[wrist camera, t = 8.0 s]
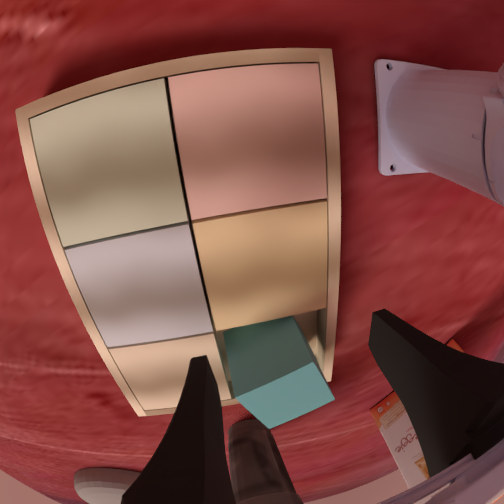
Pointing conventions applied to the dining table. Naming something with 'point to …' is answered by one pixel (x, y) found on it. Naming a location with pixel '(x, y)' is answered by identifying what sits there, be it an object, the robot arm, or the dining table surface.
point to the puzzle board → (192, 208)
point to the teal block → (275, 371)
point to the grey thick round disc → (103, 484)
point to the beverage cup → (258, 466)
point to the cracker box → (407, 440)
